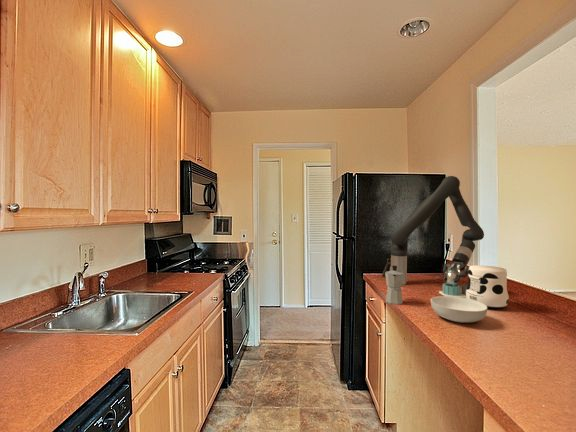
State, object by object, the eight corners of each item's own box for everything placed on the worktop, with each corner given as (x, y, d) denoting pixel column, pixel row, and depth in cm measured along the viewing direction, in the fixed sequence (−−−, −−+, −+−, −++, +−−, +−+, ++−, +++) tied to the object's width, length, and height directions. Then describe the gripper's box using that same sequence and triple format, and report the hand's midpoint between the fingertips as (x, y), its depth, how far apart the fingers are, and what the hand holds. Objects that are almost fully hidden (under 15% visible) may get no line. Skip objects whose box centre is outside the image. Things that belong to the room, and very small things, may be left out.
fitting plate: (448, 298, 163) (448, 287, 163) (438, 292, 174) (439, 282, 174) (482, 299, 163) (482, 288, 163) (470, 293, 174) (470, 283, 174)
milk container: (508, 304, 154) (508, 267, 154) (509, 313, 140) (509, 273, 140) (467, 298, 164) (467, 263, 163) (464, 306, 149) (465, 268, 149)
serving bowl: (457, 330, 120) (457, 312, 119) (419, 313, 140) (419, 297, 140) (500, 325, 125) (500, 308, 125) (458, 309, 145) (458, 294, 145)
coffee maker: (403, 306, 148) (404, 268, 148) (384, 304, 151) (384, 267, 151) (403, 298, 163) (403, 263, 162) (385, 296, 165) (385, 262, 165)
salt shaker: (449, 289, 167) (449, 270, 166) (444, 287, 172) (445, 268, 171) (458, 289, 166) (459, 270, 166) (454, 287, 171) (454, 268, 171)
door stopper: (395, 276, 218) (396, 258, 218) (396, 277, 212) (396, 260, 212) (382, 275, 221) (382, 257, 221) (382, 276, 215) (382, 259, 215)
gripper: (447, 250, 179) (434, 274, 172) (473, 253, 167) (460, 279, 160) (452, 259, 182) (439, 282, 175) (478, 262, 170) (466, 288, 163)
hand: (450, 281), depth 168 cm, fingers closed on salt shaker, 5 cm apart
